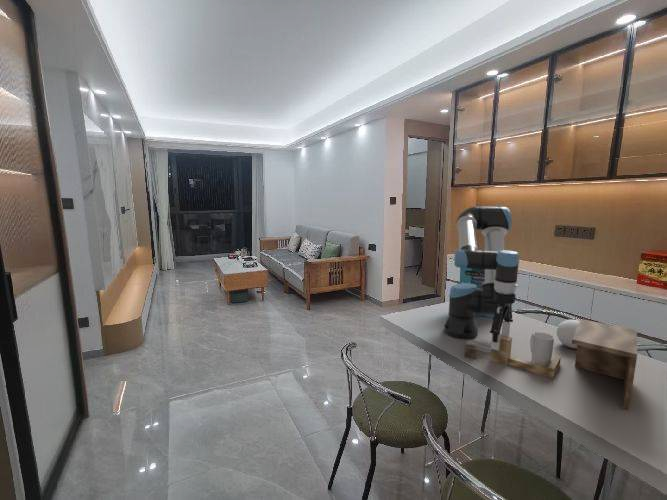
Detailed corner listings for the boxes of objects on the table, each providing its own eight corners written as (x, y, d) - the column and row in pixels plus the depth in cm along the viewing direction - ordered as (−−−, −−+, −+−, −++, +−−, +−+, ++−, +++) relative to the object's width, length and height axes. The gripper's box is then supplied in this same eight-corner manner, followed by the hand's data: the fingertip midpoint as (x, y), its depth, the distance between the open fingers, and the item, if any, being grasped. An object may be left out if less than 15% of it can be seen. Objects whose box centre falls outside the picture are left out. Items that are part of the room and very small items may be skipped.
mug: (555, 369, 126) (558, 339, 124) (538, 370, 125) (541, 339, 123) (537, 356, 136) (540, 328, 134) (521, 357, 135) (523, 329, 133)
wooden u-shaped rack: (490, 360, 133) (492, 336, 131) (501, 348, 143) (503, 326, 141) (552, 379, 119) (555, 353, 117) (559, 365, 129) (562, 340, 127)
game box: (498, 315, 182) (502, 266, 178) (498, 319, 176) (502, 269, 172) (458, 310, 190) (461, 263, 186) (457, 314, 184) (460, 265, 180)
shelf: (566, 391, 111) (572, 339, 108) (575, 364, 129) (580, 319, 126) (628, 411, 101) (637, 354, 98) (629, 379, 119) (636, 329, 116)
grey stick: (465, 346, 146) (465, 341, 146) (467, 344, 147) (467, 340, 147) (488, 354, 139) (488, 349, 138) (490, 352, 140) (490, 347, 140)
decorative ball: (593, 355, 136) (597, 327, 135) (559, 350, 141) (562, 323, 139) (583, 343, 148) (586, 317, 146) (552, 339, 152) (554, 314, 150)
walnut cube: (464, 357, 135) (465, 348, 135) (465, 353, 139) (466, 344, 138) (475, 359, 134) (475, 350, 133) (475, 355, 137) (476, 346, 137)
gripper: (506, 302, 116) (501, 358, 120) (523, 285, 134) (518, 334, 139) (483, 297, 121) (479, 351, 125) (503, 282, 139) (499, 329, 143)
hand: (500, 342), depth 132 cm, fingers open, 13 cm apart
